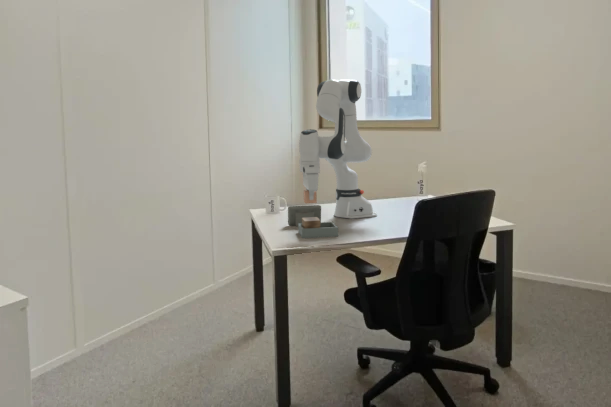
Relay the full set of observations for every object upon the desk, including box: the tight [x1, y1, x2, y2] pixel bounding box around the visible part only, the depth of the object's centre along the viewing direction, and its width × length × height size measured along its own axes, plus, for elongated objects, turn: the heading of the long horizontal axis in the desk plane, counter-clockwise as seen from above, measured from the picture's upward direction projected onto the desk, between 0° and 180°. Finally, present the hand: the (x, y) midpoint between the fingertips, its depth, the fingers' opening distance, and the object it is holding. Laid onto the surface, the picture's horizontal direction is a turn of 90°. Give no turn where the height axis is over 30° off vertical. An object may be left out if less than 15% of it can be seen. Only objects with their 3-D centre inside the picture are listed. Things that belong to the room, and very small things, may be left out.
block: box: [302, 217, 320, 229], centre depth 252 cm, size 7×8×7 cm
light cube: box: [303, 189, 318, 204], centre depth 250 cm, size 5×5×5 cm
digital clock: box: [287, 204, 322, 227], centre depth 274 cm, size 16×9×11 cm, turn 82°
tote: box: [297, 221, 339, 239], centre depth 253 cm, size 16×12×5 cm
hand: (310, 198), depth 250 cm, fingers closed on light cube, 5 cm apart
